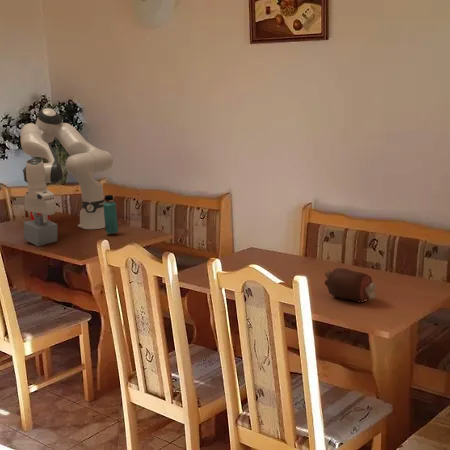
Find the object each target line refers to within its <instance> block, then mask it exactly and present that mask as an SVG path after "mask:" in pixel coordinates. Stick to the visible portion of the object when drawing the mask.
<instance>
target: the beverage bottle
mask: <svg viewBox="0 0 450 450" xmlns="http://www.w3.org/2000/svg"><path fill="white" fill-rule="evenodd" d="M104 198H105V200H106V201H105V203H104V204H103V207H104V218H105V228H104V229H105V233H106V234H116V233H119V222H118V213H117V203H116V202H114V196H113V195H112V194H107V195H106V194H105V196H104Z"/></svg>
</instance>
